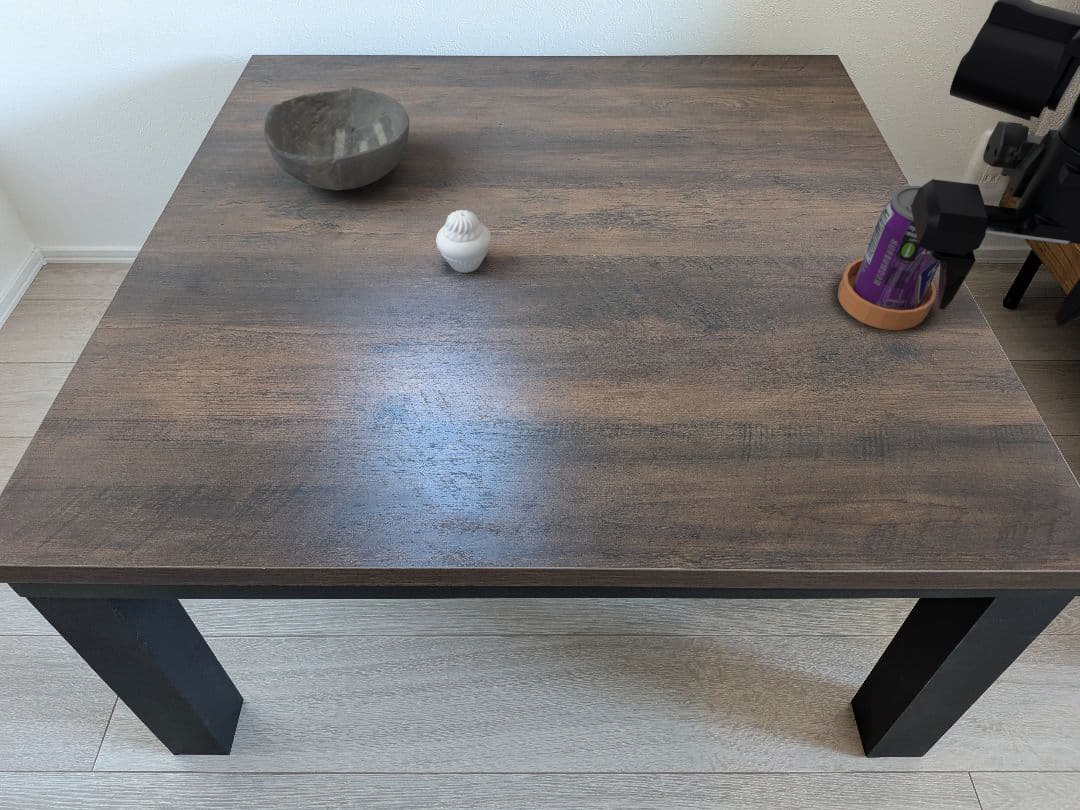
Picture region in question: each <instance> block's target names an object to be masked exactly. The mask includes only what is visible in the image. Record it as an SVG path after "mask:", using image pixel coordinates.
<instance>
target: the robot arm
mask: <svg viewBox="0 0 1080 810" xmlns="http://www.w3.org/2000/svg"><path fill="white" fill-rule="evenodd" d="M1079 74H1080V14H1078V13H1074V12H1071V11H1066V10H1063V9H1059V8H1055V7H1051V6H1047V5H1043V4H1039V3H1038V2H1034V1H1032V0H996V1H995V2H994V3H993V5H992V7H991V10H990V12H989V14H988V16H987V19H986V20H985V22H984V24H983V25H982V26H981V28H980V30H979V31H978V34H977V35H976V36H975V38H974V40H973V42H972V44H971V46H970V48H969V50H968V51H966V53H965V54H964V55H963V56H962V58H961V59H960V62H959V63H958V66H957V69H956V71H955V73H954V76H953V79H952V82H951V84H950V89H949V95H950V96H951V97H954V98H957V99H961V100H964V101H966V102H970V103H973V104H975V105H978V106H982V107H985V108H988V109H992V110H995V111H998V112H1001V113H1004V114H1007V115H1010V116H1012V117H1013V116H1014V117H1015V118H1020V119H1023V120H1026V121H1029V122H1031V121H1032V120H1033V119H1034V118H1036V119H1040V118H1041V116H1042V115H1043V113H1044V111H1045V110H1046V108H1047V110H1050V111H1052V112H1057V110H1058V109H1059V108H1060V107H1061V104H1063V101H1064V100H1065V98H1066V97H1067V94H1068V93H1069V92H1070V90H1071V88H1072V86H1073V84H1074V82H1075V81H1076V79H1077V77H1078V75H1079ZM1029 133H1030V127H1029V126H1027V125H1024V124H1023V123H1020V122H1013V121H1001V120H998V122H997V124H996V126H995V127H994V129H993V131H992V133H991V134H990V136H989V139H988V140H987V143H986V146H985V149H984V152H983V157H982V159H983V162H984V163H986V165H988V166H990V167H992V168H1000V169H1001V168H1002V170H1001V173H1000V175H1001V176H1002V177H1009V178H1010V179H1012V181H1011V182H1010V184H1009V185H1008V192H1009V194H1010V197H1011V198H1017V199H1018V201H1017V204H1016V205H1015V207H1006V206H998V205H992V204H985V202H984V198H983V195H982V191H981V189H980V185H979V184H976V183H967V182H959V181H950V180H941V179H933V178H932V179H930V180H929V181H927V182H926V183H925V184H923V185H921V186H922V187H920V188H919V189H918V191H917V194H916V196H915V198H914V201H913V203H912V205H911V209H912V214H913V219H914V224H915V230H916V235H917V240H918V245H919V246H921V247H922V248H924V249H925V250H927V251H931V254H932V256H933V257H934V258H935V259H937V260H940V265H939V276H938V277H939V278H938V290H937V291H938V292H937V305H938V309H939V310H942V311H944V310H945V309H946V308H948V307H949V305H950V304H951V303H952V302H953V300H954V298H955V297H956V295H957V293H958V292H959V290H960V288H961V287H962V285H963V284H964V281H965V280H966V278H967V276H968V275H969V273H970V271H971V270H972V268H973V266H974V265H975V263H976V262H977V261H976V257H975V253H974V251H975V250H977V249H979V248H980V247H981V244H982V243H983V241H984V239H985V237H986V235H991V236H1000V237H1006V238H1015V239H1022V240H1023V239H1024V240H1031V241H1037V242H1047V243H1056V244H1062V245H1070V244H1077V245H1080V91H1079V92H1078V93H1077V96H1076V97H1075V99H1074V101H1073V103H1072V104H1071V107H1070V108H1069V110H1068V112H1067V113H1066V115H1065V117H1064V119H1063V121H1062V122H1061V124H1060V125H1059V128H1058V129H1048V131H1047V133H1045V134H1044V135H1037V134H1029ZM1078 319H1080V278H1078V279H1077V281H1076V283H1075V284H1074V285H1073V286H1072V288H1071V290H1070V291H1069V292H1068V294H1067V295H1066V297H1065V298H1064V300H1063V301H1062V302H1061V304H1060V306H1059V308H1058V310H1057V312H1056V313H1055V315H1054V321H1055V324H1056V326H1060V327H1063V326H1065V325H1067V324H1070V323H1071V322H1074V321H1075V320H1078Z"/></svg>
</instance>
